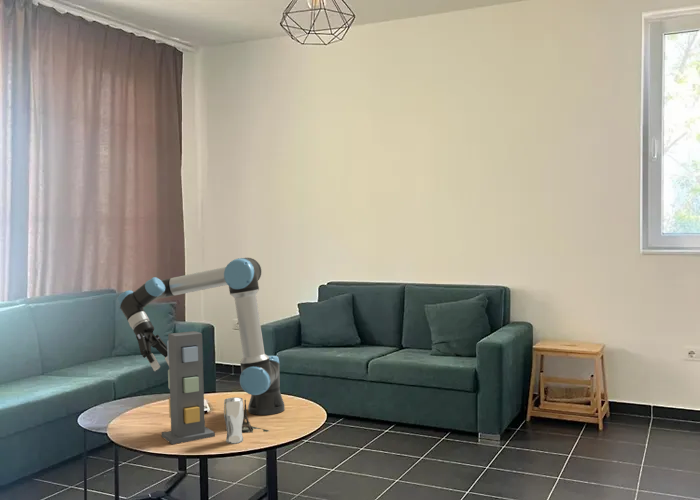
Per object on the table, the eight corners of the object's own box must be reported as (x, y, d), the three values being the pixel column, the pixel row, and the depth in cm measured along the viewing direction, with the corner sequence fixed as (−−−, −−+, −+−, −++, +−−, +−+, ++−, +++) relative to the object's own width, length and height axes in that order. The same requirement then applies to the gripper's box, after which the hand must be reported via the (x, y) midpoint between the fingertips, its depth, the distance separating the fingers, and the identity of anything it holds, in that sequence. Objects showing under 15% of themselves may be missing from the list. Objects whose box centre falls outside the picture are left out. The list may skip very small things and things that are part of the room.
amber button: (169, 417, 257) (168, 398, 257) (187, 414, 261) (186, 396, 261) (183, 426, 243) (183, 407, 243) (202, 423, 247) (202, 404, 247)
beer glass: (225, 438, 246) (224, 397, 246) (245, 437, 247) (244, 396, 247) (223, 444, 239) (222, 402, 239) (243, 443, 240) (242, 401, 240)
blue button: (167, 359, 257) (167, 340, 257) (185, 357, 261) (185, 338, 260) (182, 365, 243) (181, 346, 243) (200, 363, 247) (200, 343, 246)
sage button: (168, 388, 257) (167, 369, 257) (186, 385, 261) (186, 367, 261) (182, 396, 243) (182, 376, 243) (201, 393, 247) (201, 374, 247)
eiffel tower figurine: (270, 432, 255) (269, 396, 255) (250, 438, 248) (249, 402, 247) (244, 425, 265) (243, 391, 265) (223, 431, 257) (223, 396, 257)
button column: (161, 436, 251) (158, 333, 250) (203, 429, 260) (200, 329, 259) (171, 444, 241) (168, 337, 240) (214, 436, 250) (211, 333, 249)
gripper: (150, 333, 286) (174, 375, 280) (116, 328, 262) (141, 374, 256) (164, 322, 285) (189, 364, 279) (131, 317, 262) (157, 363, 255)
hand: (166, 369), depth 268 cm, fingers open, 13 cm apart
